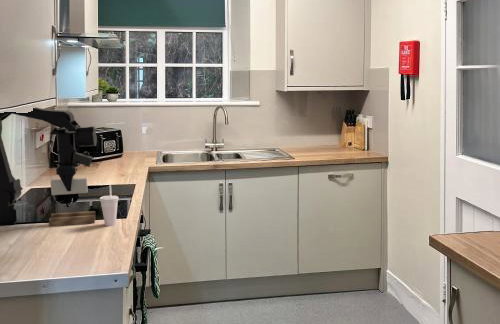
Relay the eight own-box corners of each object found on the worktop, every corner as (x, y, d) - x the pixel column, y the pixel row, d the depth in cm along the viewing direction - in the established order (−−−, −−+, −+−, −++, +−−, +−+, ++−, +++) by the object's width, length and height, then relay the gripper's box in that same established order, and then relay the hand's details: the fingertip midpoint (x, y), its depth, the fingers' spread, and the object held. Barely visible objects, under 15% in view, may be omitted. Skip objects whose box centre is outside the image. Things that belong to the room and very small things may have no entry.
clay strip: (51, 195, 188) (50, 181, 187) (52, 193, 190) (51, 179, 190) (87, 192, 191) (86, 178, 190) (87, 191, 193) (86, 177, 193)
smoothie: (120, 226, 185) (118, 186, 183) (100, 227, 183) (98, 187, 181) (119, 221, 191) (117, 182, 189) (100, 222, 189) (98, 184, 187)
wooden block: (49, 226, 186) (49, 218, 185) (52, 220, 193) (51, 213, 192) (94, 223, 189) (94, 216, 189) (95, 218, 196) (95, 211, 196)
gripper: (89, 148, 181) (92, 193, 183) (90, 142, 199) (93, 184, 201) (54, 150, 178) (58, 196, 181) (59, 144, 196) (62, 186, 198)
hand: (69, 190), depth 190 cm, fingers closed on clay strip, 3 cm apart
